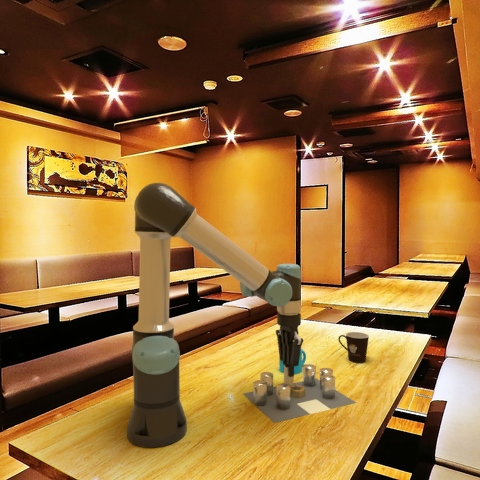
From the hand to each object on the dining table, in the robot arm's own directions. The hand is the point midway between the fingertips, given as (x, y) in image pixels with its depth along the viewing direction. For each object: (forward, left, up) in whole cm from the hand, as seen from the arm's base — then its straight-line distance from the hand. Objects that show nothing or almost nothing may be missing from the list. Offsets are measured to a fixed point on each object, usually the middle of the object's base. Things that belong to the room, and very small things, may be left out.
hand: (288, 385), depth 126 cm
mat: (-1, -7, -2) cm, 7 cm away
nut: (0, -5, -1) cm, 5 cm away
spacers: (-1, -5, -1) cm, 5 cm away
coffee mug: (+39, +14, -2) cm, 42 cm away
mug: (+11, +14, -2) cm, 18 cm away
